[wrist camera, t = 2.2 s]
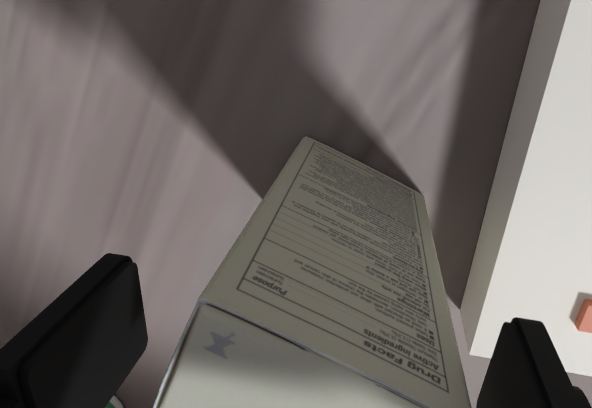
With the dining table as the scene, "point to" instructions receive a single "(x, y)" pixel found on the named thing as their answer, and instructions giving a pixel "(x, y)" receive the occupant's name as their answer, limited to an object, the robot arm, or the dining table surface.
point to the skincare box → (323, 301)
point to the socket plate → (542, 198)
